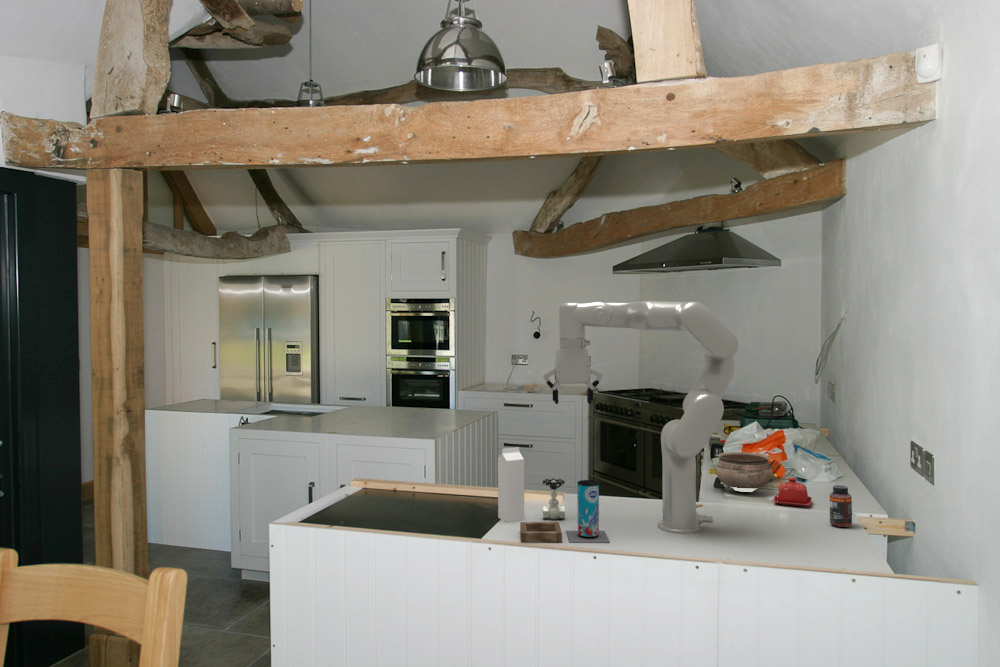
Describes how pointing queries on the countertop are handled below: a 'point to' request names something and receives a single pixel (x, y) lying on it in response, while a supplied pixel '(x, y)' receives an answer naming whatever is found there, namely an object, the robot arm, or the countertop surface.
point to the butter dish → (793, 494)
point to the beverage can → (588, 508)
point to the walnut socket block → (540, 532)
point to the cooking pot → (744, 469)
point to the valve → (553, 501)
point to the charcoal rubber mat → (575, 538)
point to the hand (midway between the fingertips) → (572, 403)
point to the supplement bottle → (840, 507)
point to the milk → (511, 485)
